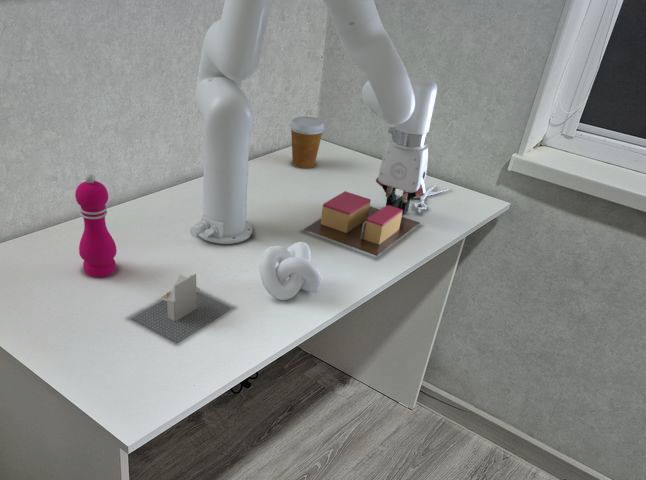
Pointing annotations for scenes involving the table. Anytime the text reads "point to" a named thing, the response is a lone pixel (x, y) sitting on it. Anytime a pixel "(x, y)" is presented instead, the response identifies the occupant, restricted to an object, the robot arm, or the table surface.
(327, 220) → the cake
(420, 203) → the scissors
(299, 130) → the disposable coffee cup
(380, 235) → the cake slice
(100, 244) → the pepper mill
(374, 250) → the cake board
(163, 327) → the architectural model
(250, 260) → the table surface
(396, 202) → the knife
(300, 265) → the white knot sculpture
